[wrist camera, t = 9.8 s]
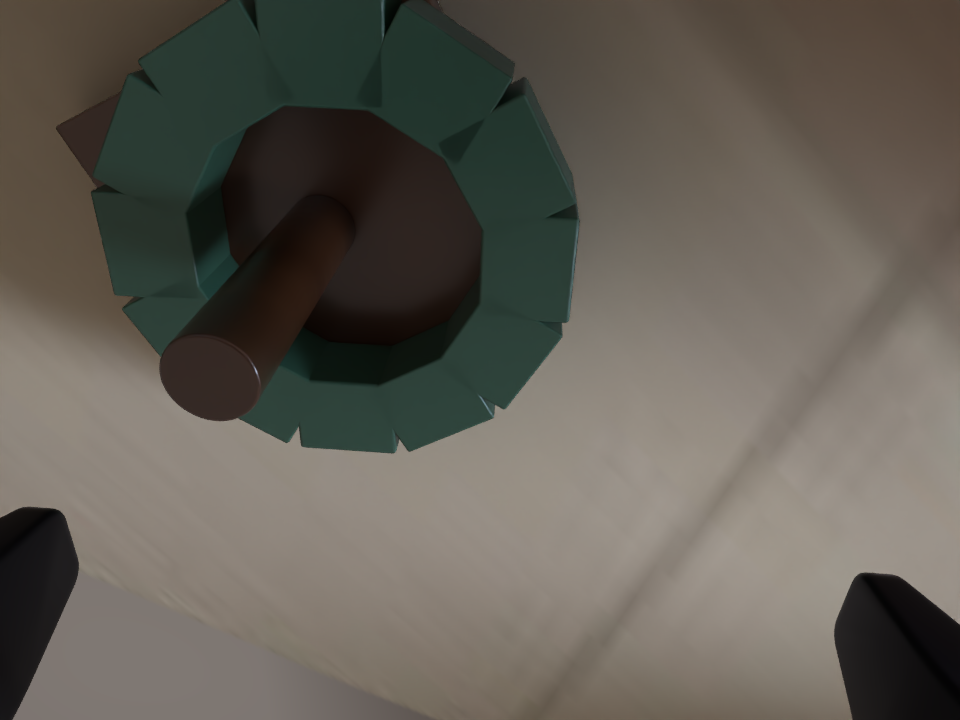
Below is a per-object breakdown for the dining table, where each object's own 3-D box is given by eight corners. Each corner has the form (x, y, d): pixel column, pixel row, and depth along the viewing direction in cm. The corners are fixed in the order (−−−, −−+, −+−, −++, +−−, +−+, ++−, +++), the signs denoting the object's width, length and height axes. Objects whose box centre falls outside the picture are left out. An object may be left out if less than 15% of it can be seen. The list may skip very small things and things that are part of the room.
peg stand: (411, -61, 16) (305, -61, 8) (566, 298, 19) (584, 507, 12) (81, 116, 18) (-220, 233, 11) (278, 406, 22) (153, 634, 15)
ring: (552, 419, 20) (553, 465, 18) (179, 395, 20) (146, 437, 18) (595, -2, 15) (603, 6, 13) (96, -24, 15) (40, -19, 13)
